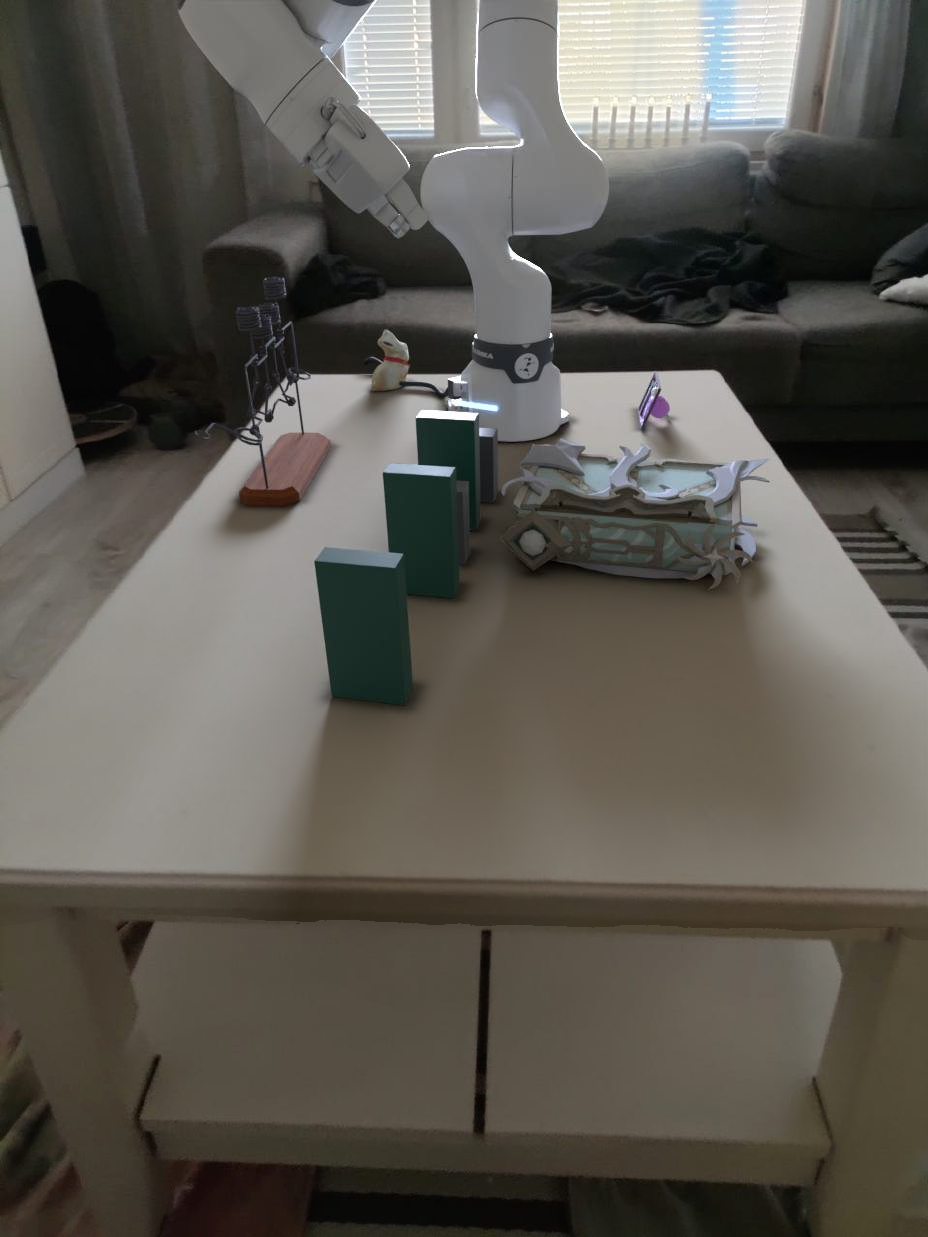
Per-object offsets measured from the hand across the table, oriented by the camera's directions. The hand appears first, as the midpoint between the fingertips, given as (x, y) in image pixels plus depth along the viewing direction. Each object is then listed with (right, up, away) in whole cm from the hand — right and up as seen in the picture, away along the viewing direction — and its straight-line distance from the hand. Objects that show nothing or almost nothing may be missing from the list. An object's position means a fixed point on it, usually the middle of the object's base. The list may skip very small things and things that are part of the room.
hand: (413, 229), depth 94 cm
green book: (+4, -29, +16) cm, 34 cm away
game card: (+36, -10, +47) cm, 59 cm away
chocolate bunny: (-8, 0, +65) cm, 66 cm away
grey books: (+4, -29, +16) cm, 34 cm away
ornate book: (+26, -32, +11) cm, 43 cm away
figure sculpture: (-20, -22, +30) cm, 42 cm away
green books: (-1, -43, -5) cm, 43 cm away
